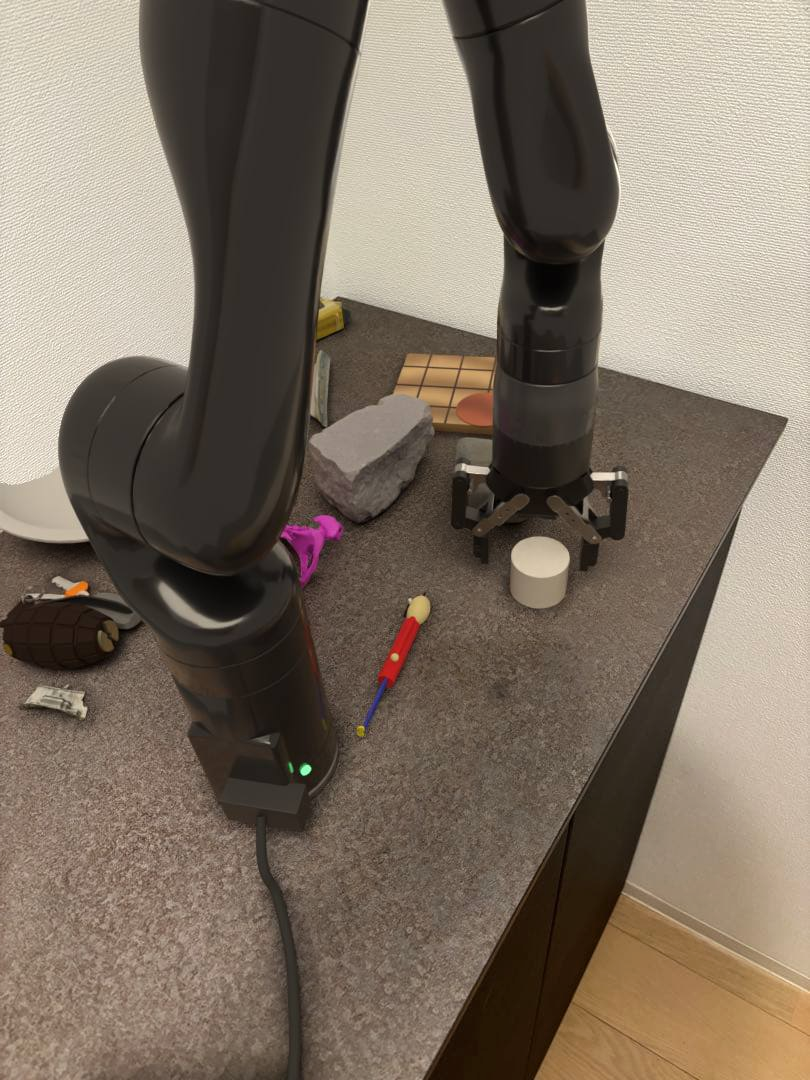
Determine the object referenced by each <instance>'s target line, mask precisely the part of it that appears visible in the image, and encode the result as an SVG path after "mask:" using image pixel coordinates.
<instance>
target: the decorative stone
mask: <svg viewBox="0 0 810 1080" xmlns="http://www.w3.org/2000/svg"><path fill="white" fill-rule="evenodd" d="M432 422H433V415H432V412H431V409H430V406H429V404H428V403H426V402H425V401H423V400H422V399H419V398H416V397H411V396H409V395H406V394H393V393H392V394H389V395H387V396H384V397H382V398H379V400H378V403H377V404H376V405H375V404H371V405H370V404H369V405H366V406H365V407H363V408H362V409H357V410H355V411H353V412H350V413H349V414H347V415H346V416H344V417H343V418H341V419H339V420H337V421H335V422H334V423H331V425H330V426H327V427H325V428H323V429H322V430H321V432H317V433H315V434H313V435H312V436H311V437H310V439H308V442H307V447H308V452H309V455H310V457H311V459H310V460H311V462H312V466H313V469H314V484H315V486H316V488H317V490H318V491H319V494H320V495H321V497H323V498H324V500H325V501H326V502H328V503H329V505H330V506H331V507H333V508H335V509H336V510H337V511H338V512H340V513H341V514H342V515H343V516H344V517H345V518H347V519H349V520H350V521H352V522H354V523H356V524H362V523H365V522H368V521H369V520H371V519H374V518H376V517H377V516H378V515H380V514H381V513H382V512H384V511H386V510H387V509H389V507H390V506H391V505H393V503H394V502H395V501H396V500H397V499H398V498H399V496H400V494H401V493H402V492H403V491H404V490H405V489H407V487H408V486H409V485H410V484H412V483H413V481H414V479H415V478H416V477H415V476H416V472H417V469H418V465H419V464H420V461H421V460H422V459H423V457H424V456H425V453H426V450H427V446H428V445H429V444H430V443H431V442H432V441H433V440H434V436H435V432H436V431H434V428H433V426H432Z"/></svg>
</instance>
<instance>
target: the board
mask: <svg viewBox="0 0 810 1080" xmlns="http://www.w3.org/2000/svg"><path fill="white" fill-rule="evenodd" d="M496 359H497V356H495V357H491V356H490V357H489V356H471V355H465V354H464V355H453V354H452V355H450V354H433V353H430V354H428V353H408V352H407V354H406V358H405V361H404V363H403V365H402V367H401V371H400V374H399V376H398V379H397V381H396V384H395V387H394V390H393V393H392V394H406V395H409V396H411V397H416V398H419V399H422V400H423V401H425V402H426V403H428V404H429V406H430V409H431V412H432V415H433V422H432V426H433V428H434V432H446V433H459V434H473V435H475V434H476V435H490V436H492V422H493V398H492V397H493V380H494V374H495V368H496Z"/></svg>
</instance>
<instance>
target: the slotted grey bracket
mask: <svg viewBox="0 0 810 1080" xmlns="http://www.w3.org/2000/svg"><path fill="white" fill-rule="evenodd" d="M69 687H70V684H69V683H66V684H65V685H64V686H63V687H57V686H53V685H46V684H39V685H38V686H37V687H36V690H34V691H33V692H32V693H31V695H30V696H29V697H28V698H27V699H26V701H25V702H24V703H23V702H22V703H21V702H20V703H18V705H16V707H17V708H18V709H19V710H27V709H34V708H35V709H39V710H43V709H44V708H48V709H54V710H58V711H60V712H61V713H65V714H66V715H67V716H72V717H76V718H77V720H79V721H85V719H86V715H87V713H88V706H84V701H83V698H84V697H85V694H86V693H85V691H81V690H80V691H79V690H72V689H68V688H69Z"/></svg>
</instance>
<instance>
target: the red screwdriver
mask: <svg viewBox="0 0 810 1080" xmlns="http://www.w3.org/2000/svg"><path fill="white" fill-rule="evenodd" d="M426 595H427V592H425V591H424V592H423V594H422V595H417V596H415V597H414V598H411V597H409V598H408V599H407V602H408V603H407V605H406V607H405V611H404V614H403V616H402V618H405V619H404V620H403V623H402V625H401V627H400V629H399V631H398V634H397V635H396V637H395V640H394V641H393V644H392V646H391V648H390V650H389V652H388V654H387V656H386V659H385V661H384V663H383V665H382V667H381V669H380V672H379V674H378V675H377V678H376V679H377V682H378V683H379V684H380V686H379V689H378V691H377V693H376V695H375V698H374V699H373V702H372V703H371V706H370V708H369V710H368V713H367V715H366V717H365V719H364V721H363V723H362V725H358V726H357V727H356V729H357V732H356V735H357V736H358V737H360V738H363V737H364V736H365V733H366V731H367V730H368V727H369V725H370V722H371V720H372V719H373V716H374V714H375V711H376V710H377V707H378V705H379V703H380V701H381V698H382V697H383V694H384V692H385V689H386V688H392V687H394V685H395V682H396V681H397V679H398V676H399V674H400V672H401V669H402V668H403V665H404V663H405V660H406V658H407V656H408V655H409V651H410V649H411V647H412V645H413V643H414V640H415V638H416V636H417V634H418V632H419V629H420V627H421V625H422V624H424V622H426V621H427V619H428V617H429V615H430V613H431V602H430V600H429V598H428V597H427V596H426Z"/></svg>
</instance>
